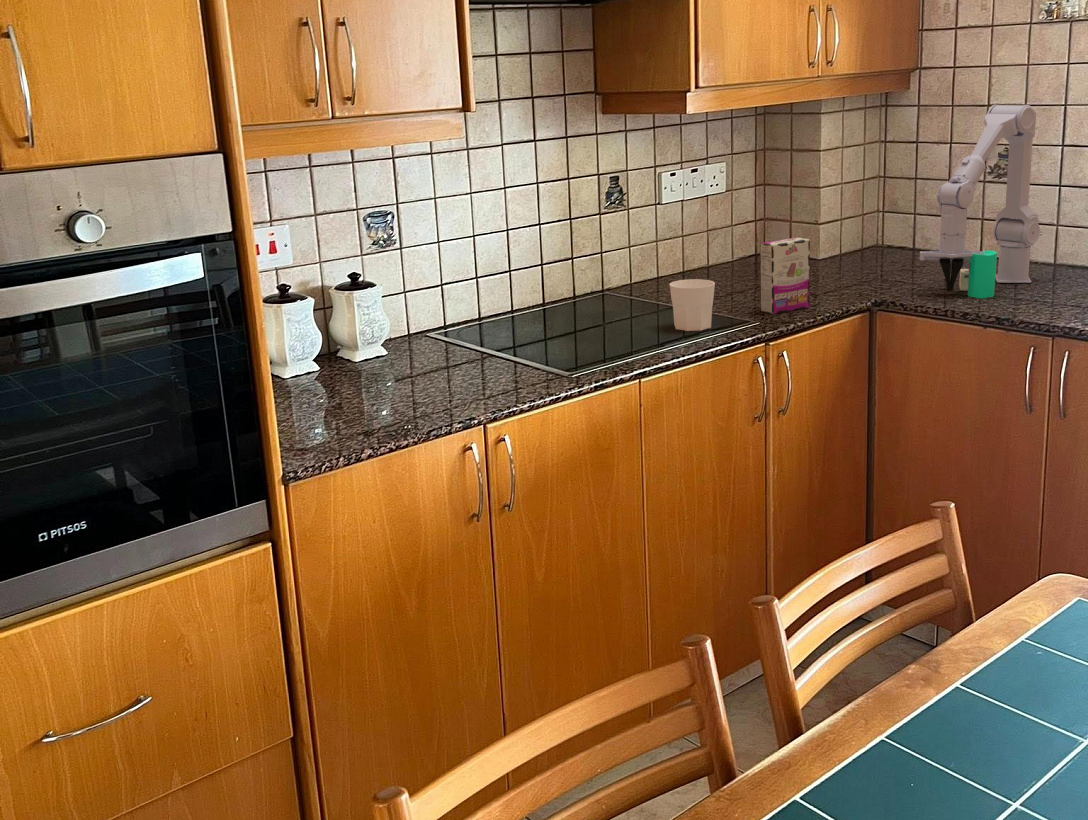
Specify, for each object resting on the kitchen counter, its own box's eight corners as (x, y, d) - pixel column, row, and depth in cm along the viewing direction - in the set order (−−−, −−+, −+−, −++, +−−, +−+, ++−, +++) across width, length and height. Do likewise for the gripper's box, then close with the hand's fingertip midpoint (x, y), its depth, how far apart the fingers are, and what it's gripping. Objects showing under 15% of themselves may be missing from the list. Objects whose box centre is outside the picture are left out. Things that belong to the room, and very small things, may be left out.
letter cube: (959, 286, 291) (960, 268, 290) (978, 286, 290) (979, 268, 289) (960, 290, 287) (961, 272, 286) (979, 290, 286) (980, 272, 284)
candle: (995, 293, 281) (998, 244, 277) (992, 298, 276) (996, 248, 272) (968, 292, 283) (971, 243, 280) (966, 297, 278) (969, 247, 275)
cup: (668, 322, 268) (668, 280, 265) (712, 321, 267) (712, 278, 265) (672, 332, 258) (671, 289, 255) (717, 331, 258) (717, 287, 255)
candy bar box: (796, 304, 280) (797, 236, 275) (810, 308, 275) (811, 239, 271) (758, 311, 275) (759, 242, 270) (772, 314, 271) (773, 244, 266)
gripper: (921, 236, 275) (918, 292, 279) (986, 236, 272) (982, 293, 276) (920, 231, 282) (917, 286, 286) (984, 231, 278) (980, 287, 282)
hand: (949, 289), depth 281 cm, fingers closed
